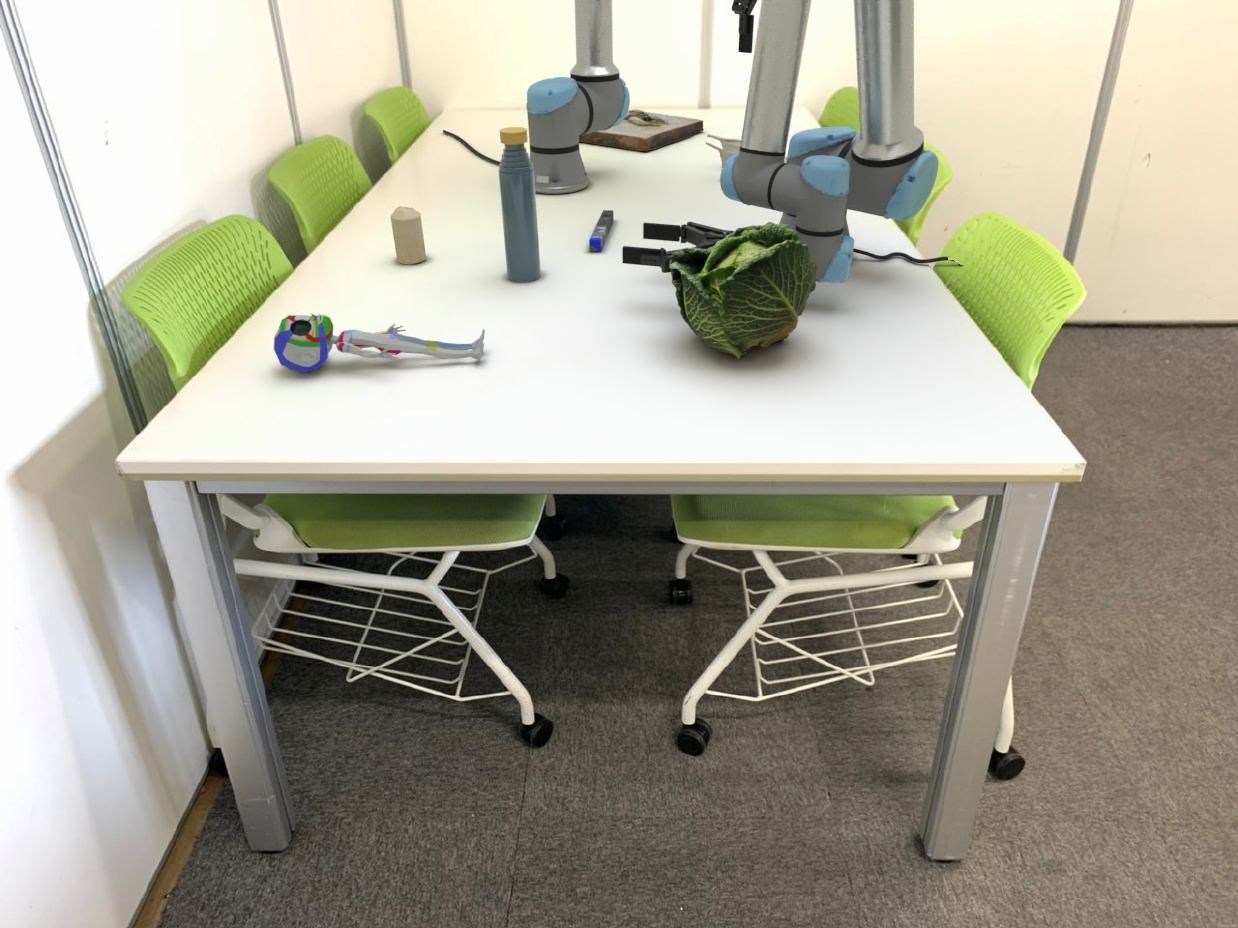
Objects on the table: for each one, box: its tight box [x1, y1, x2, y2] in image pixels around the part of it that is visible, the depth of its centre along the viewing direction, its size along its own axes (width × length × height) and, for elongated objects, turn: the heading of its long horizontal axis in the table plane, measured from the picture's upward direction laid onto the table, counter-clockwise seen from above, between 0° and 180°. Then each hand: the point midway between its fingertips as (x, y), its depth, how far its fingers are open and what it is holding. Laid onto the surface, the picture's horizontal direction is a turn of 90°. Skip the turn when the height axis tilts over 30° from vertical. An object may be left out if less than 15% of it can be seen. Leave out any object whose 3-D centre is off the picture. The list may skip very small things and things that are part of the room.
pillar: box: [588, 209, 615, 252], centre depth 182 cm, size 2×2×20 cm
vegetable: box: [669, 221, 818, 360], centre depth 133 cm, size 20×19×20 cm
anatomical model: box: [705, 133, 787, 169], centre depth 218 cm, size 15×9×25 cm
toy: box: [273, 313, 486, 373], centre depth 132 cm, size 10×8×30 cm
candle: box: [390, 205, 427, 265], centre depth 169 cm, size 6×6×10 cm
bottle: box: [498, 143, 542, 283], centre depth 157 cm, size 6×6×25 cm
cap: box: [499, 126, 529, 145], centre depth 151 cm, size 5×5×2 cm
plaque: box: [579, 108, 705, 152], centre depth 257 cm, size 30×7×30 cm
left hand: (766, 48), depth 176 cm, fingers open, 13 cm apart
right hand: (633, 242), depth 154 cm, fingers open, 13 cm apart
